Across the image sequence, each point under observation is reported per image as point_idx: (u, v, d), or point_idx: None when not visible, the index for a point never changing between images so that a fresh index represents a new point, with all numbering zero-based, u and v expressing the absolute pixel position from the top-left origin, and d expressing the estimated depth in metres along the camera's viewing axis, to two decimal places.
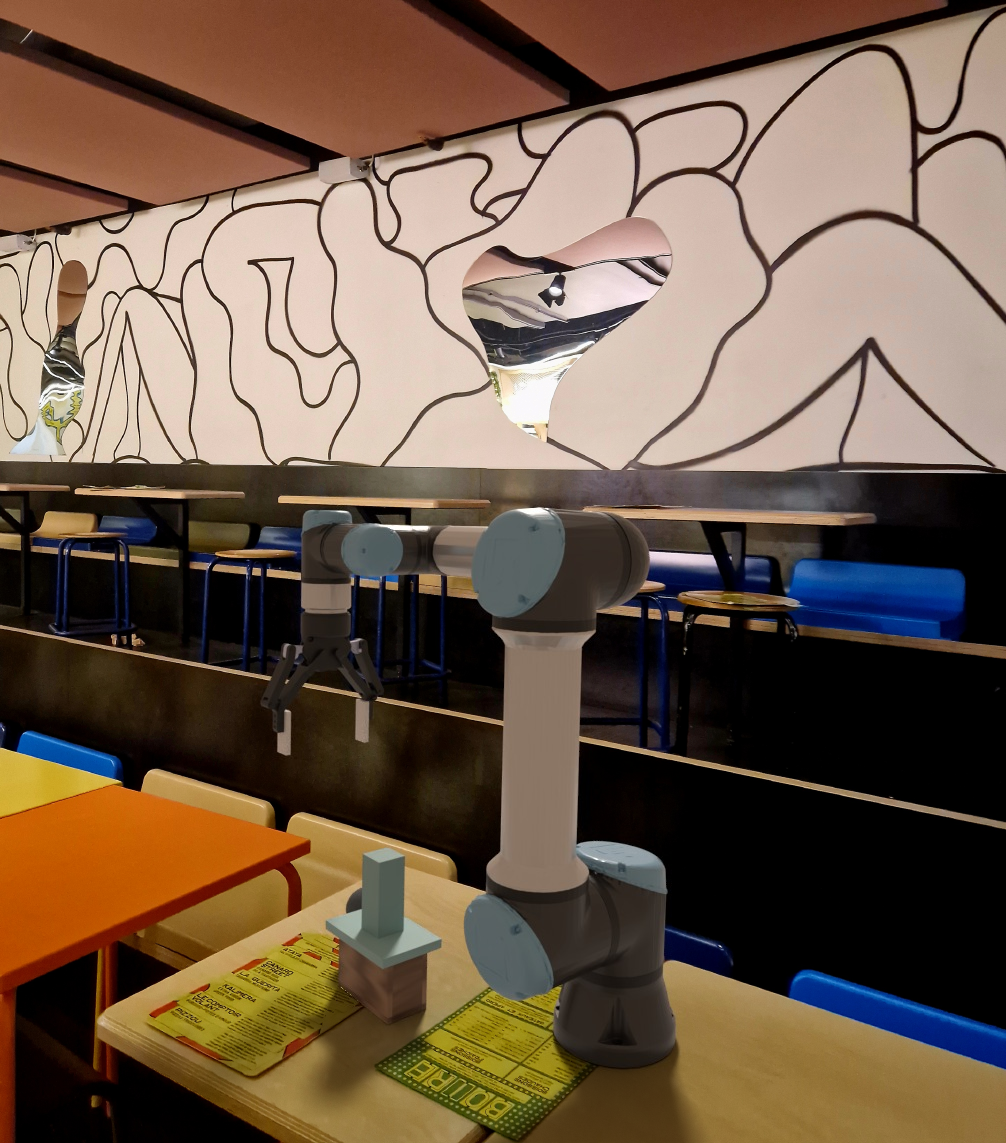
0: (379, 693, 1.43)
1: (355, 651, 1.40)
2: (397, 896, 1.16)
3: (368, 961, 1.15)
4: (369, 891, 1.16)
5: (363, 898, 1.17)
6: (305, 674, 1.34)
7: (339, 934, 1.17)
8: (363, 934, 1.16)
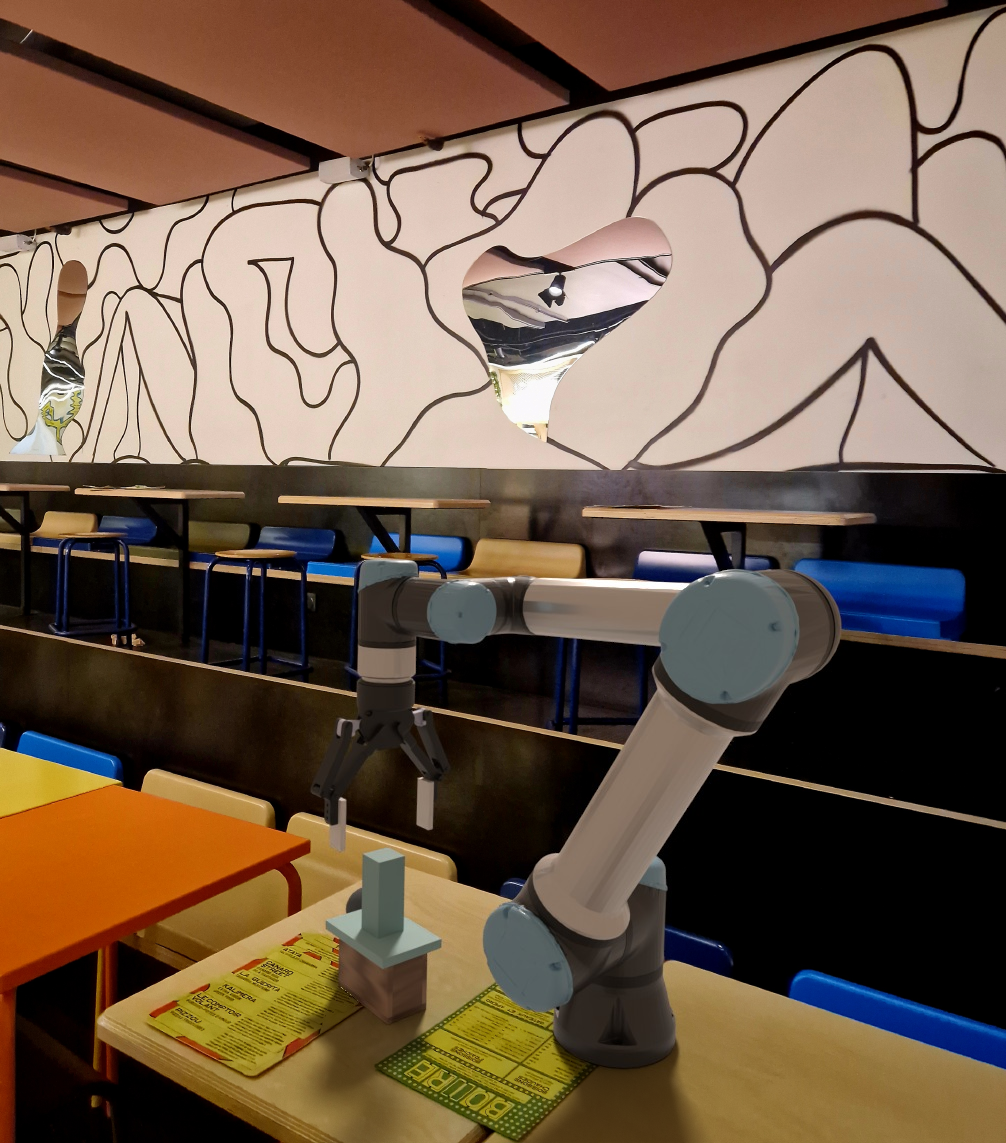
0: (445, 771, 1.22)
1: (418, 723, 1.19)
2: (397, 896, 1.16)
3: (368, 961, 1.15)
4: (369, 891, 1.16)
5: (363, 898, 1.17)
6: (363, 755, 1.13)
7: (339, 934, 1.17)
8: (363, 934, 1.16)
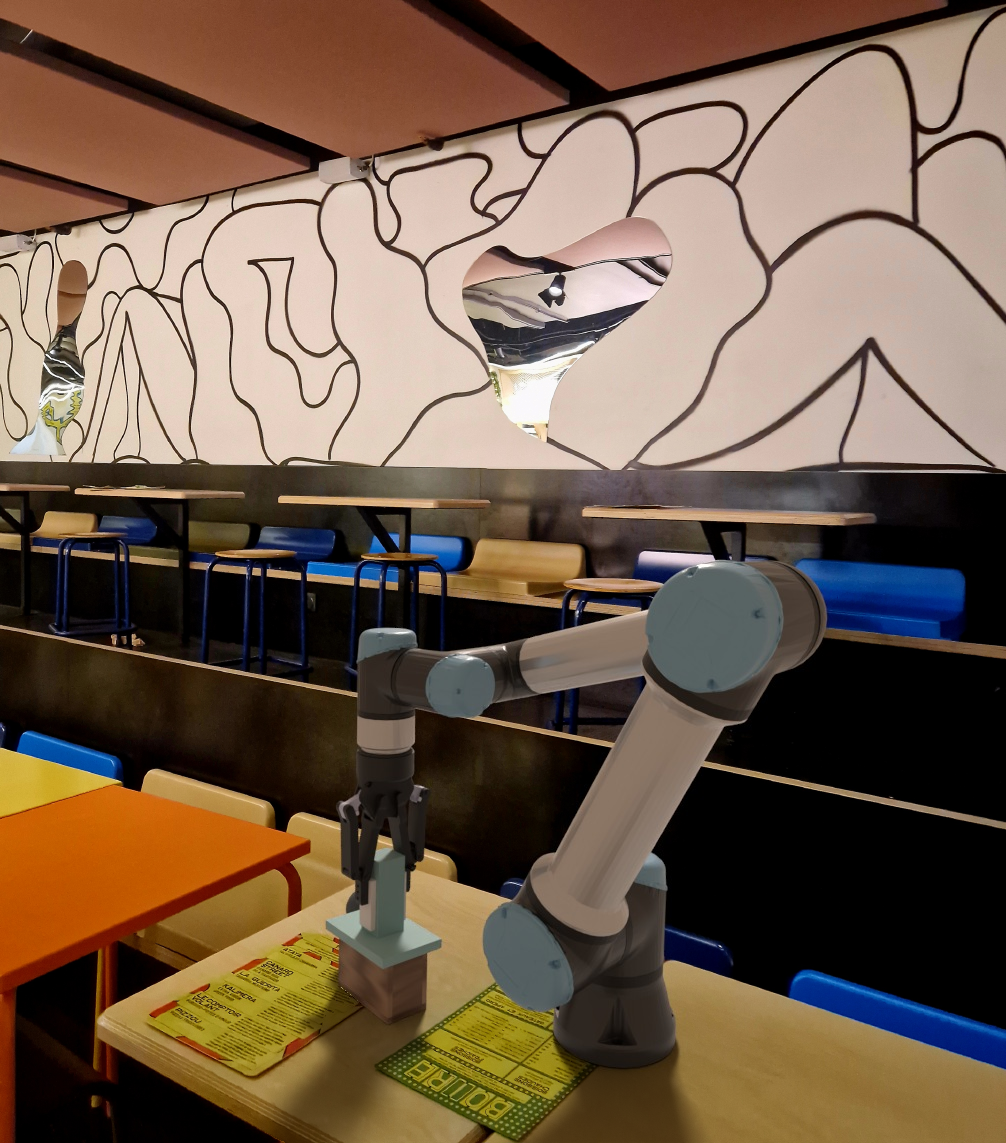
0: (417, 858, 1.19)
1: (414, 798, 1.19)
2: (397, 896, 1.16)
3: (368, 961, 1.15)
4: None
5: None
6: (374, 830, 1.14)
7: (339, 934, 1.17)
8: (363, 934, 1.16)
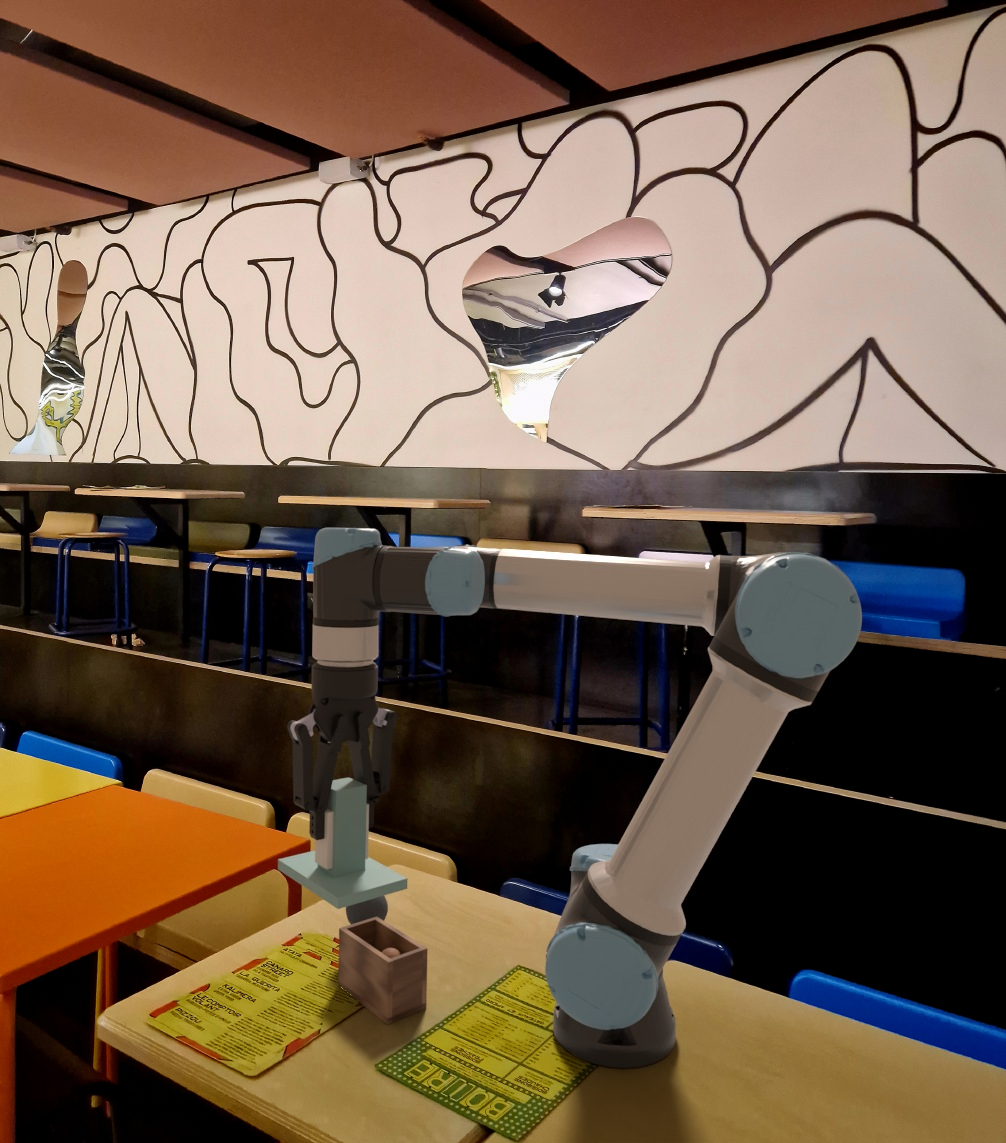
0: (382, 790, 1.05)
1: (378, 721, 1.05)
2: (357, 830, 1.03)
3: (368, 961, 1.15)
4: None
5: None
6: (331, 754, 1.01)
7: (292, 874, 1.03)
8: (319, 873, 1.02)
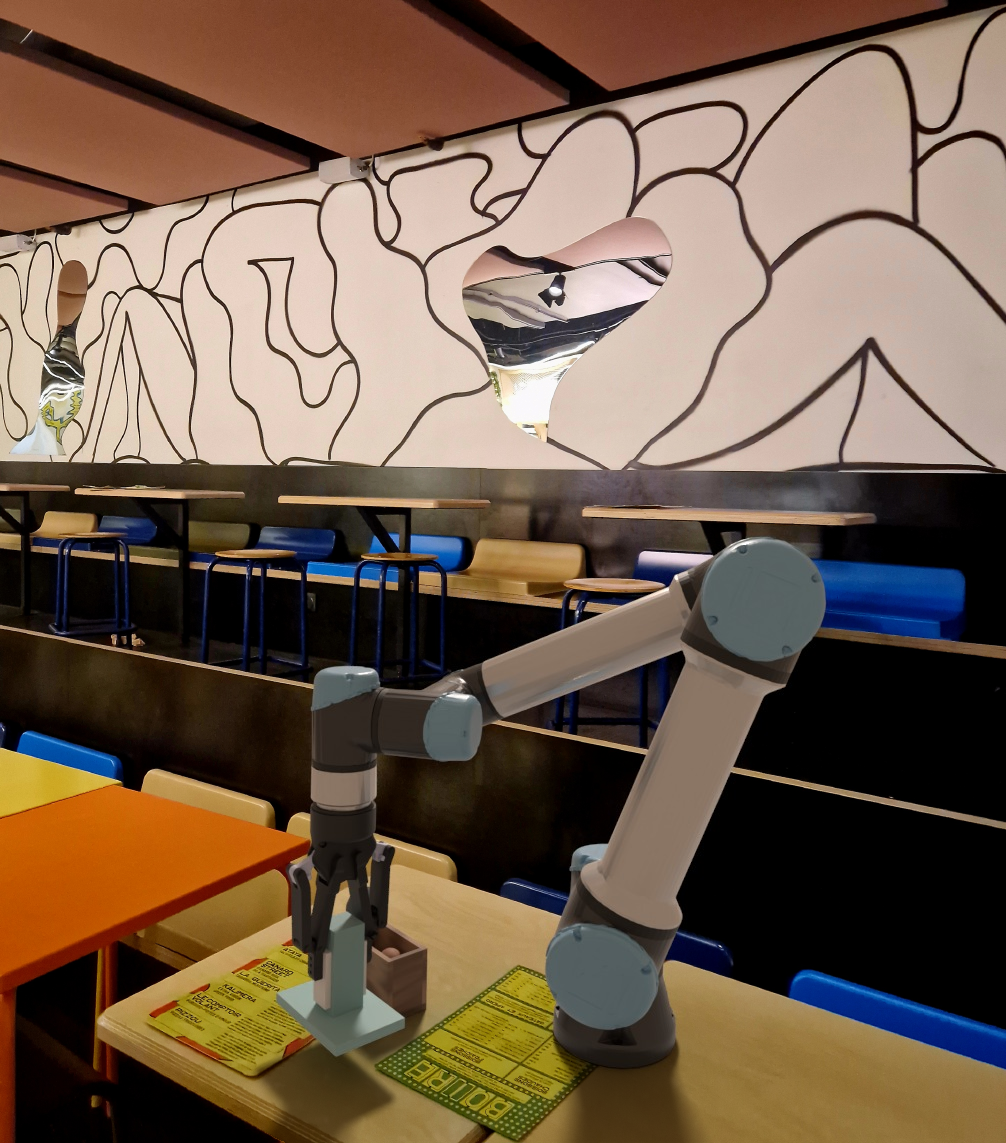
0: (380, 925, 1.06)
1: (376, 857, 1.06)
2: (355, 969, 1.03)
3: None
4: None
5: None
6: (330, 896, 1.01)
7: (290, 1011, 1.04)
8: (317, 1011, 1.03)
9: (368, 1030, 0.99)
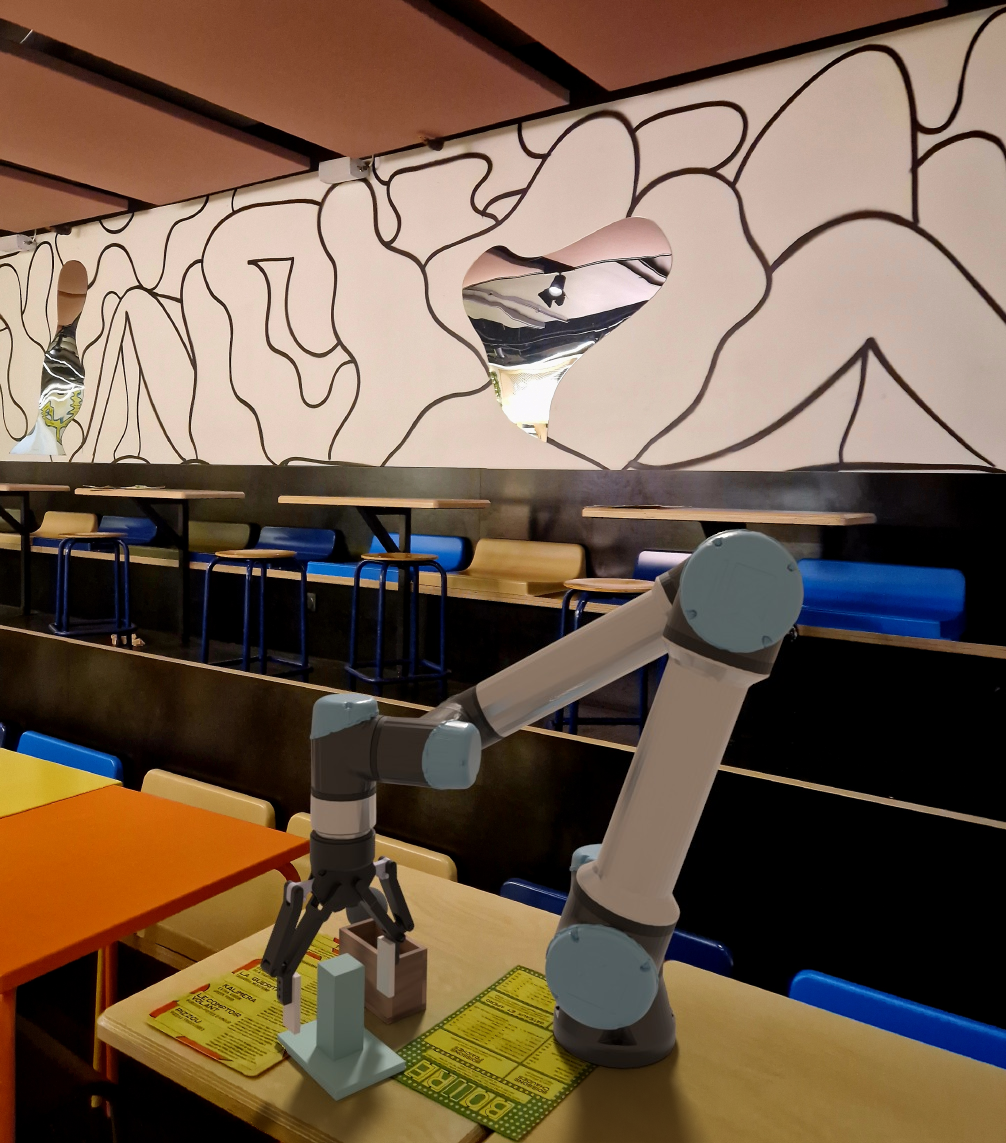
0: (408, 929, 1.09)
1: (380, 876, 1.07)
2: (356, 1011, 1.03)
3: (368, 961, 1.15)
4: (325, 1006, 1.03)
5: (318, 1013, 1.04)
6: (317, 921, 1.00)
7: (291, 1053, 1.04)
8: (318, 1054, 1.03)
9: (368, 1074, 1.00)
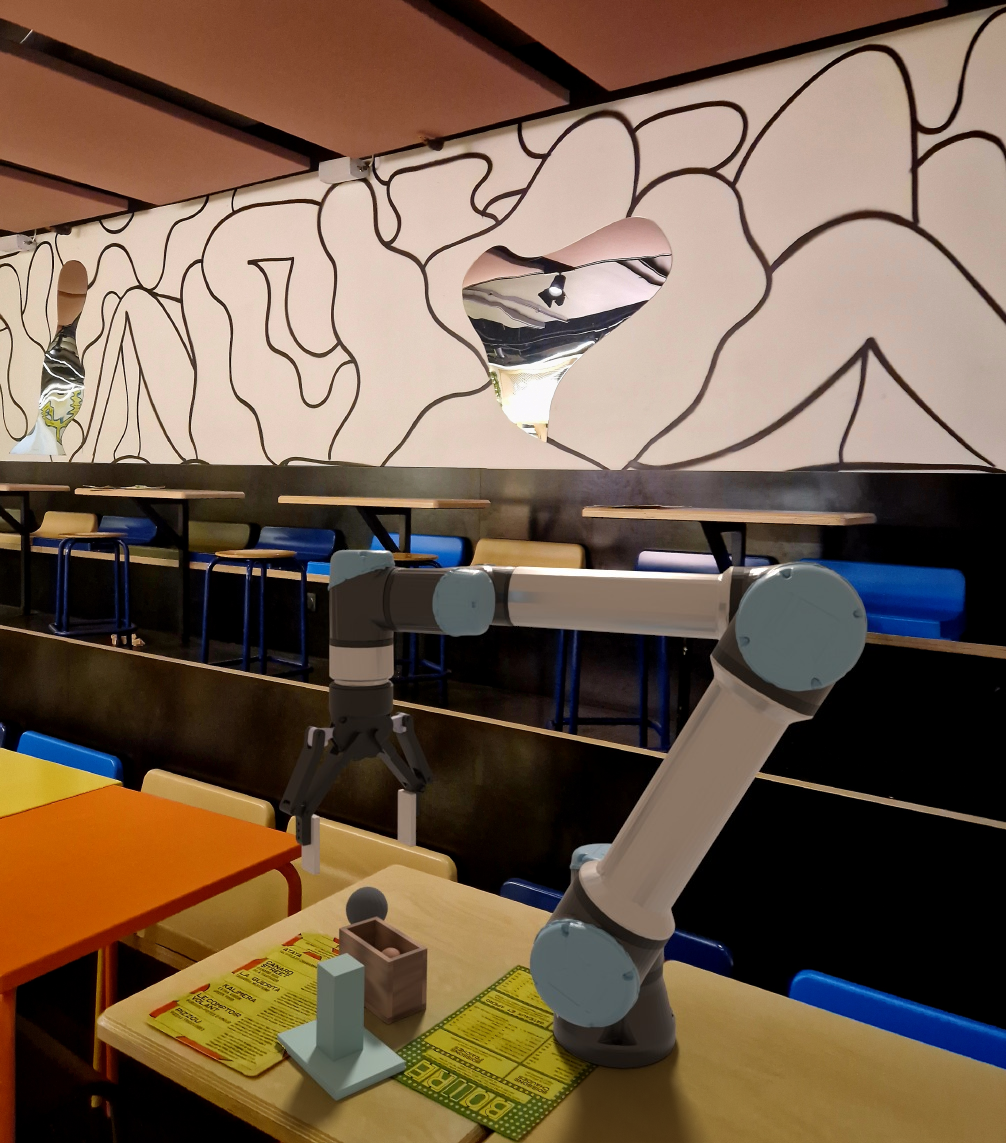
0: (428, 782, 1.11)
1: (398, 730, 1.09)
2: (356, 1012, 1.03)
3: (368, 961, 1.15)
4: (324, 1006, 1.03)
5: (318, 1013, 1.04)
6: (337, 766, 1.02)
7: (291, 1053, 1.04)
8: (318, 1054, 1.03)
9: (368, 1074, 1.00)
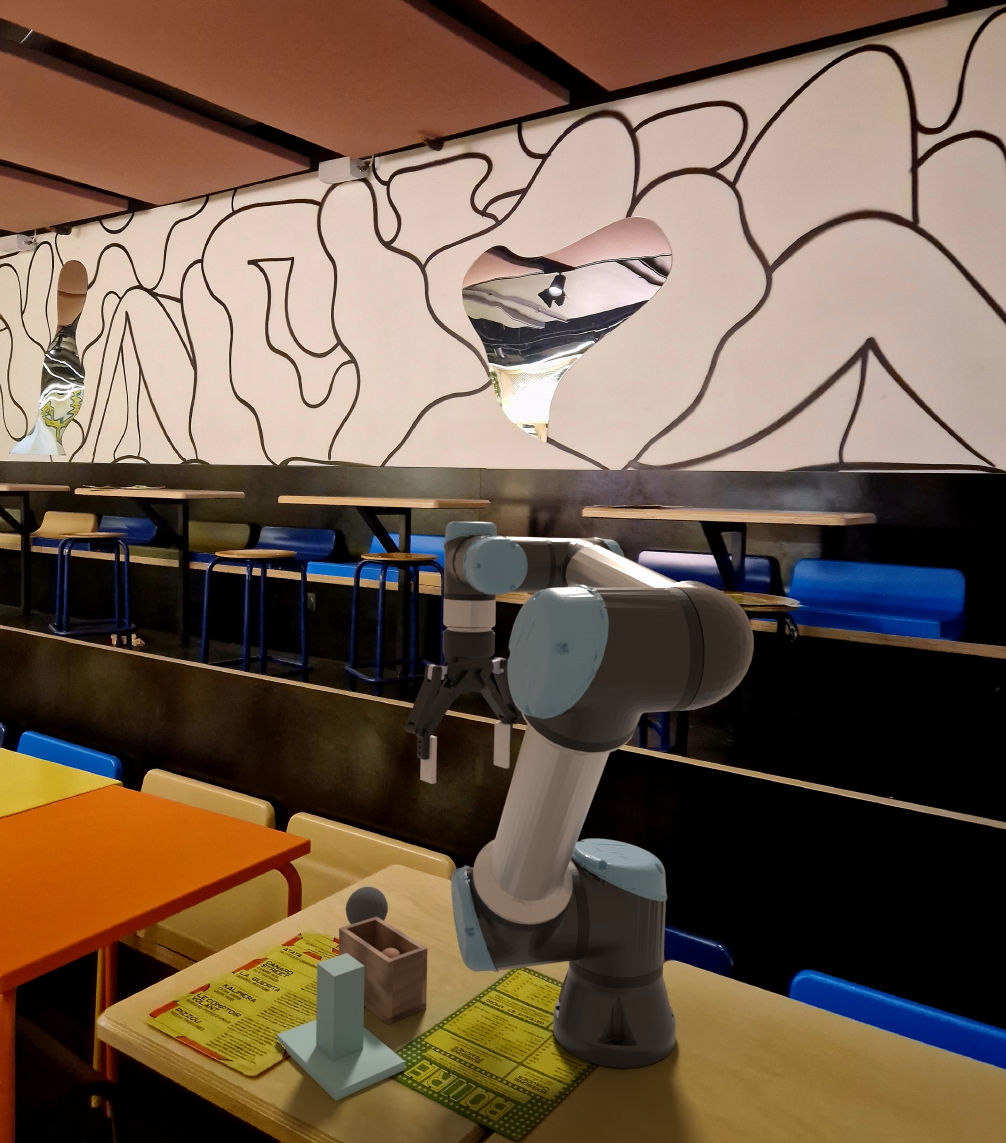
0: (519, 715, 1.34)
1: (496, 671, 1.32)
2: (355, 1012, 1.03)
3: (368, 961, 1.15)
4: (324, 1007, 1.03)
5: (318, 1013, 1.04)
6: (450, 697, 1.25)
7: (291, 1053, 1.04)
8: (317, 1054, 1.03)
9: (368, 1074, 1.00)
